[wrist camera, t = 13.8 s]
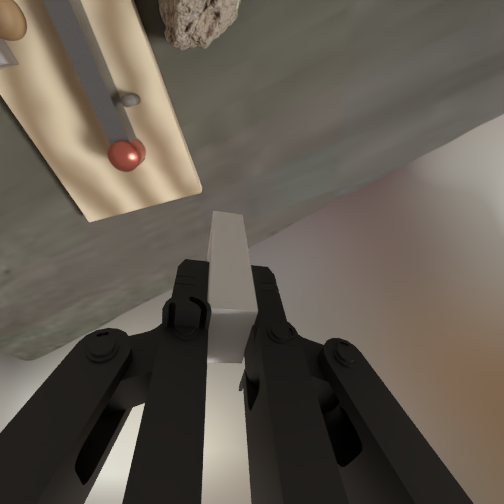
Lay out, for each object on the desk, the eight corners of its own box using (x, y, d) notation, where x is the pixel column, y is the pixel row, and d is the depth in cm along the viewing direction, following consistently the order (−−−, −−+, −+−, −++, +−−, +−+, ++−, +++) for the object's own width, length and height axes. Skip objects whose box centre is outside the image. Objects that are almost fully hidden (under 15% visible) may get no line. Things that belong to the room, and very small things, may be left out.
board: (97, -100, 25) (60, -154, 19) (202, 187, 42) (199, 205, 36) (-80, -42, 25) (-167, -76, 20) (94, 216, 43) (74, 238, 37)
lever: (82, -10, 26) (62, -23, 23) (150, 160, 36) (142, 168, 33) (49, -3, 26) (23, -15, 23) (125, 165, 36) (115, 174, 33)
